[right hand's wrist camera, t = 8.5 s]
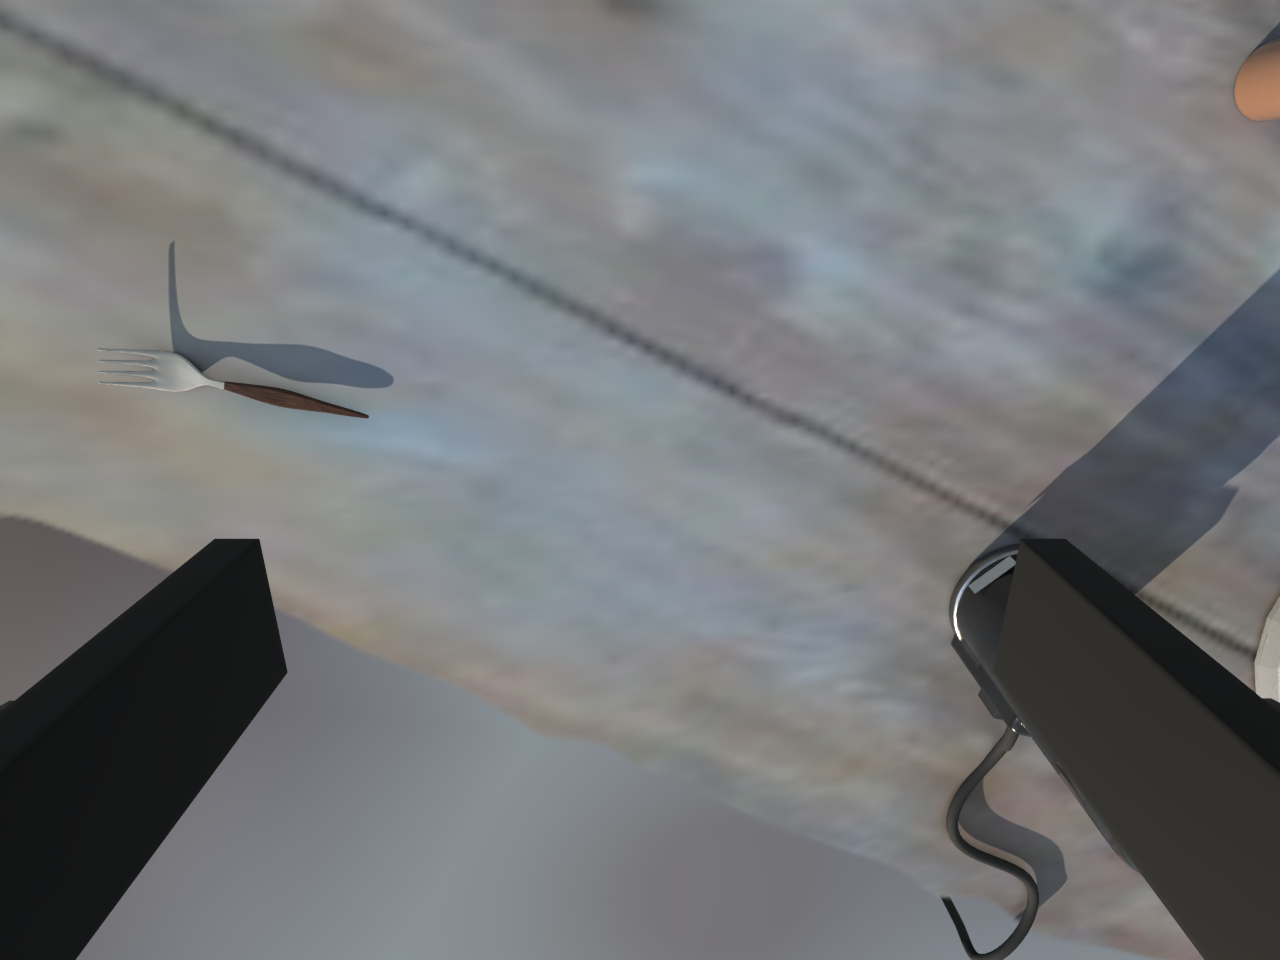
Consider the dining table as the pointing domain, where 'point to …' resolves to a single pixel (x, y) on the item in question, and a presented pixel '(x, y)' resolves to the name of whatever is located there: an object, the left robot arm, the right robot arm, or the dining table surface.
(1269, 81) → the ringed wooden cylinder
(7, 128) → the dining table surface
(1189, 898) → the right robot arm
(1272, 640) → the wall clock
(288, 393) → the fork
